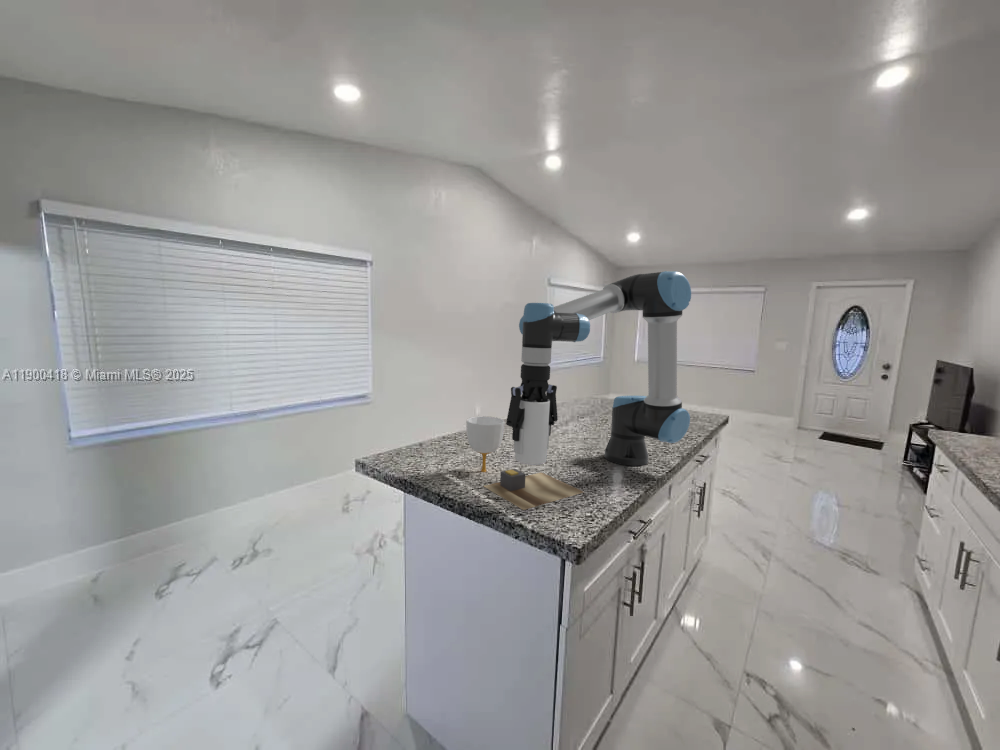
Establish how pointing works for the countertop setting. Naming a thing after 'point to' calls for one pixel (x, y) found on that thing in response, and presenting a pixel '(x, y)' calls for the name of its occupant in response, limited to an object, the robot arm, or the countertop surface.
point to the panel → (535, 491)
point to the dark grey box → (512, 479)
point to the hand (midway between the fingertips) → (531, 450)
